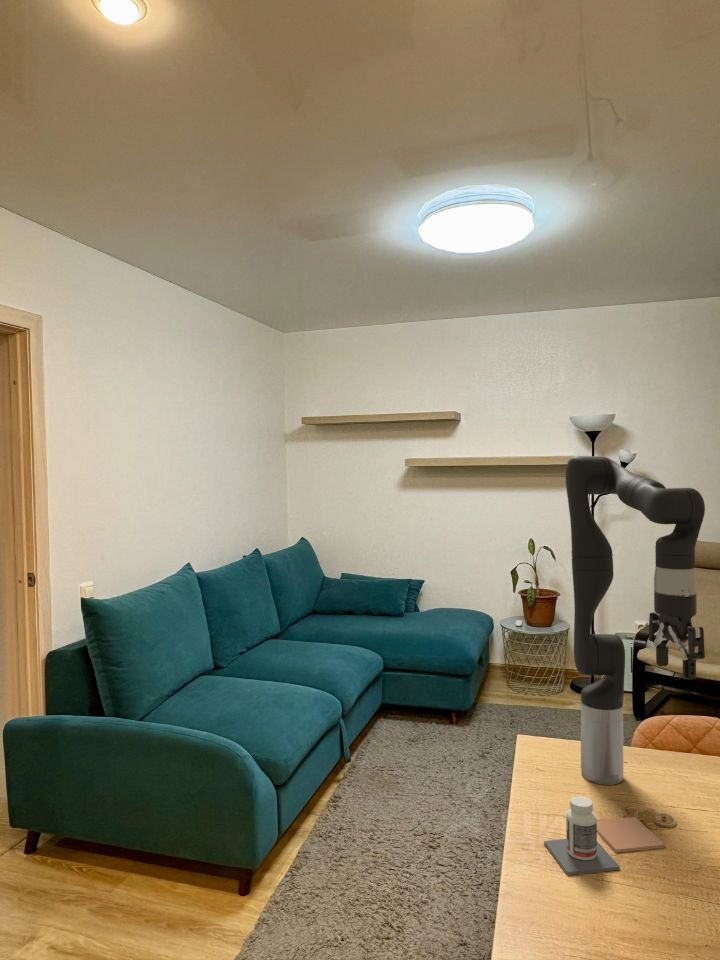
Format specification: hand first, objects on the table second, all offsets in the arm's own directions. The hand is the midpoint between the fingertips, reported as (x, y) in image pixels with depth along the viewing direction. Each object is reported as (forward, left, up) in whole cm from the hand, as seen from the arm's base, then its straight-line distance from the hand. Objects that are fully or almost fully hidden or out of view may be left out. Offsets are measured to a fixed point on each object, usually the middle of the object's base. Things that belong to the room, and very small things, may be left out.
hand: (675, 672), depth 131 cm
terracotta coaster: (-1, -10, -32) cm, 34 cm away
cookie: (-6, -2, -33) cm, 33 cm away
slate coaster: (+4, -22, -32) cm, 39 cm away
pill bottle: (+4, -22, -32) cm, 39 cm away
